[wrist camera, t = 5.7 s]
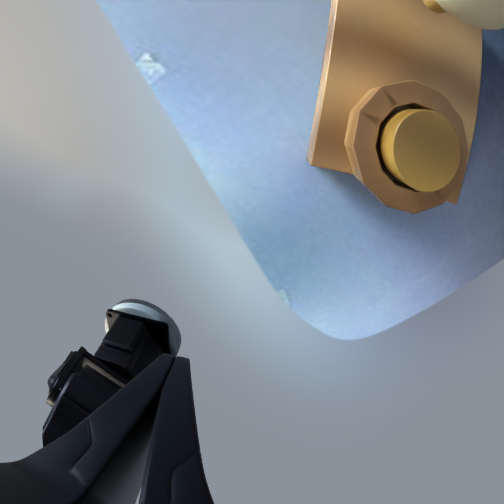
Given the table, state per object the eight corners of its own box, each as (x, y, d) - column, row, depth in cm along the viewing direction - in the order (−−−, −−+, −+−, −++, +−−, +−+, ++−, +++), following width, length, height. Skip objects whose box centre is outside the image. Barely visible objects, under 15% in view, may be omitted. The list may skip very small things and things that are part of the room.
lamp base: (437, 207, 17) (466, 229, 14) (303, 174, 17) (310, 190, 14) (465, 21, 11) (496, 11, 7) (335, -32, 11) (347, -61, 7)
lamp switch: (434, 191, 13) (450, 201, 12) (372, 173, 13) (383, 181, 12) (450, 123, 12) (467, 126, 10) (387, 98, 12) (400, 97, 10)
